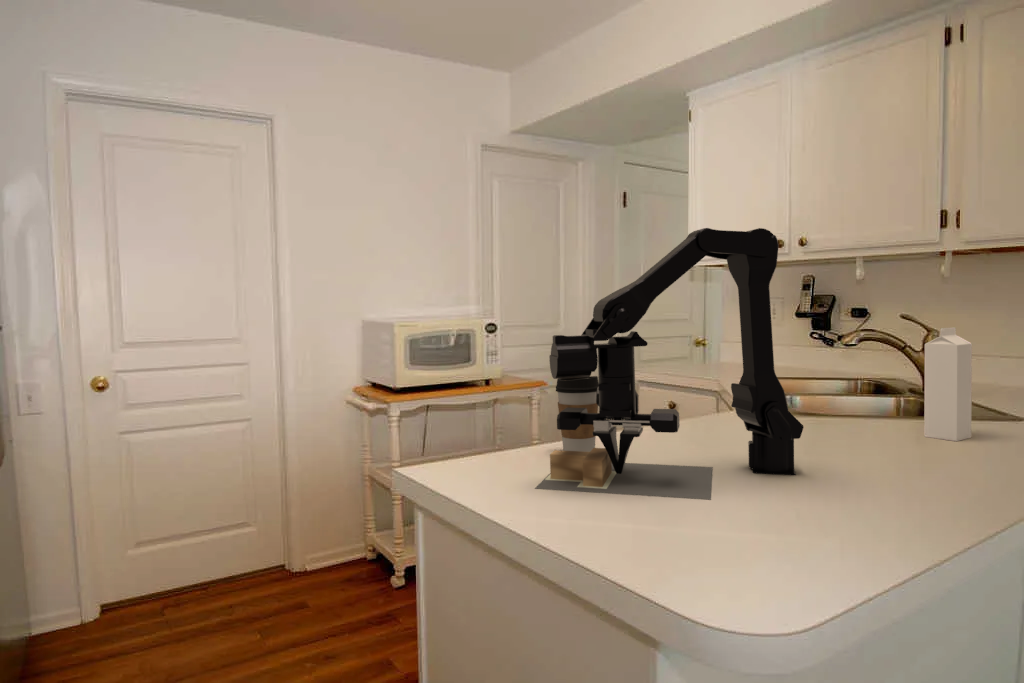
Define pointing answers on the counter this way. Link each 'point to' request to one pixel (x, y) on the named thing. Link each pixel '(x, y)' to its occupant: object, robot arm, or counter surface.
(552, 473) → the t block
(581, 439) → the coffee cup
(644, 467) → the mat
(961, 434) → the milk
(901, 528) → the counter surface
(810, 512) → the counter surface
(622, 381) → the robot arm
